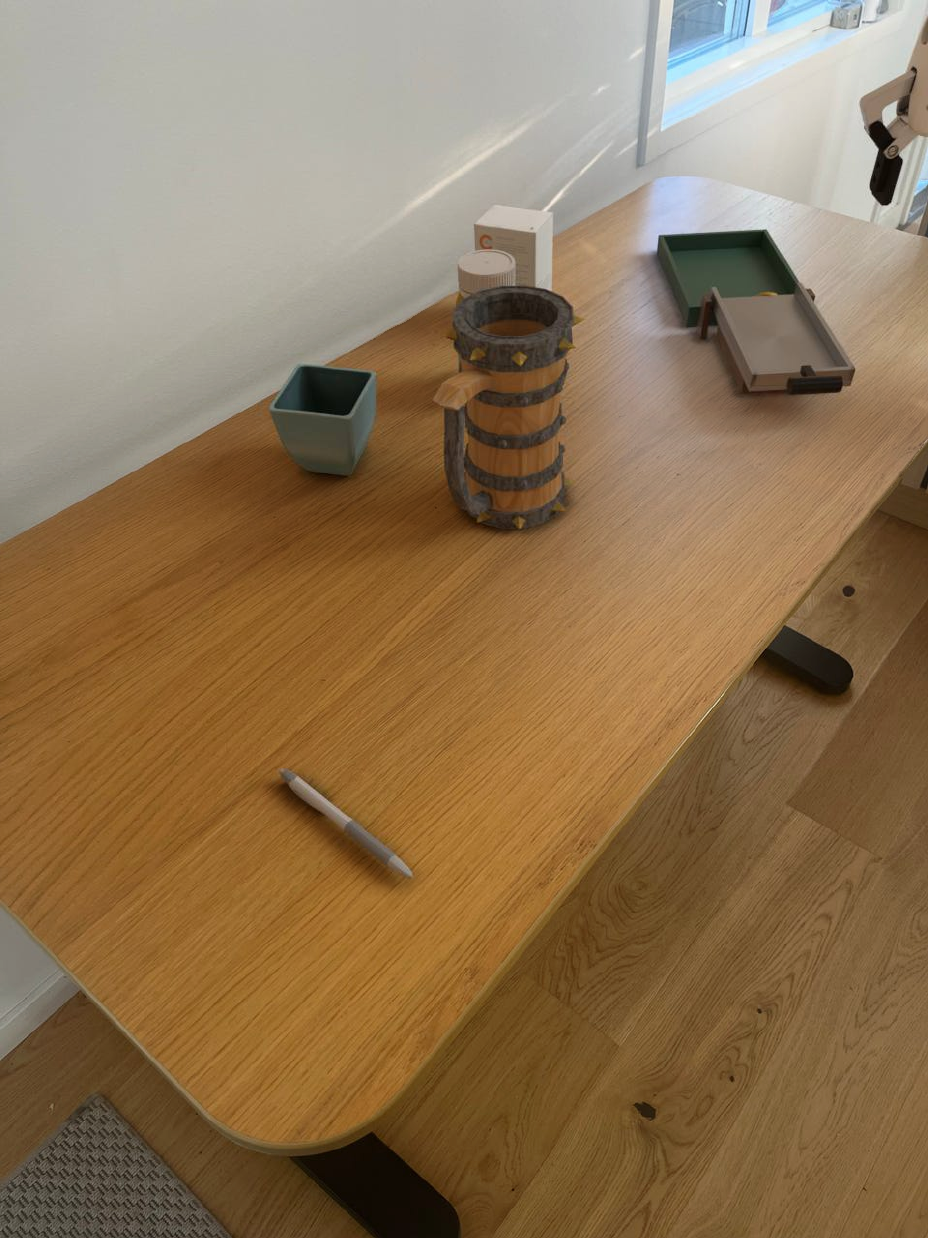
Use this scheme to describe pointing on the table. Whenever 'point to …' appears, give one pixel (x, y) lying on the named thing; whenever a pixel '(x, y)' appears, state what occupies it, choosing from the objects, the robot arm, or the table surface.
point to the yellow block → (766, 294)
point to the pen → (345, 823)
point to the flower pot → (325, 416)
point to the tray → (722, 268)
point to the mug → (507, 405)
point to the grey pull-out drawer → (782, 343)
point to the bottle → (484, 272)
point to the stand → (702, 334)
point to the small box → (520, 241)
